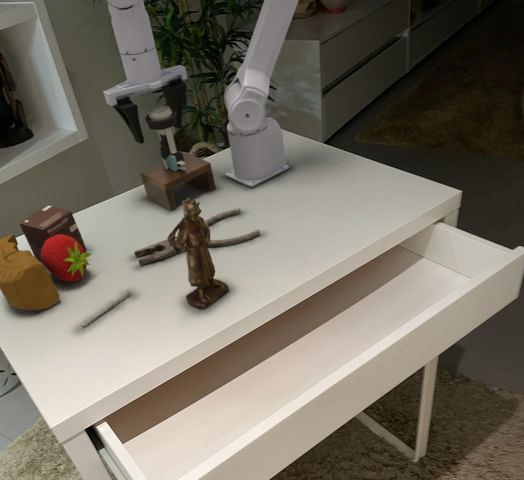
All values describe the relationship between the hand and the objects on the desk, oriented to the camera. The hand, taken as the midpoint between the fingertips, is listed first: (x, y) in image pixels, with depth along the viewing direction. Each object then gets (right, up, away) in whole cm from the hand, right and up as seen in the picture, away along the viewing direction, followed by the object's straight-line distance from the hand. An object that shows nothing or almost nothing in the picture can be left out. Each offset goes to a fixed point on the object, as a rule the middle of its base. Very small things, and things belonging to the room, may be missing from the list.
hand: (159, 134), depth 98 cm
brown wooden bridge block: (+3, -9, +5) cm, 11 cm away
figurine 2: (-23, -23, -9) cm, 34 cm away
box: (-15, -22, -6) cm, 27 cm away
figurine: (+10, -31, -19) cm, 38 cm away
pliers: (+8, -21, -9) cm, 24 cm away
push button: (+3, -5, +2) cm, 6 cm away
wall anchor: (-4, -31, -19) cm, 37 cm away
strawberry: (-16, -23, -11) cm, 30 cm away
